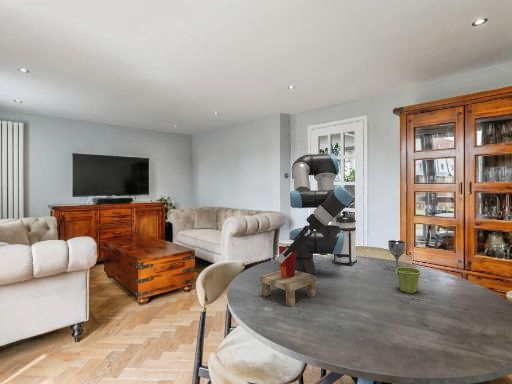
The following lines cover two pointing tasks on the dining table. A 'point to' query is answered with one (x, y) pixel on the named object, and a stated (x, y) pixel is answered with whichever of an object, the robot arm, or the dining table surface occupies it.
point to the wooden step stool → (289, 284)
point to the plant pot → (408, 279)
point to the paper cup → (287, 260)
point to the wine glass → (396, 250)
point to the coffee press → (347, 239)
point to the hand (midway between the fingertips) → (279, 258)
